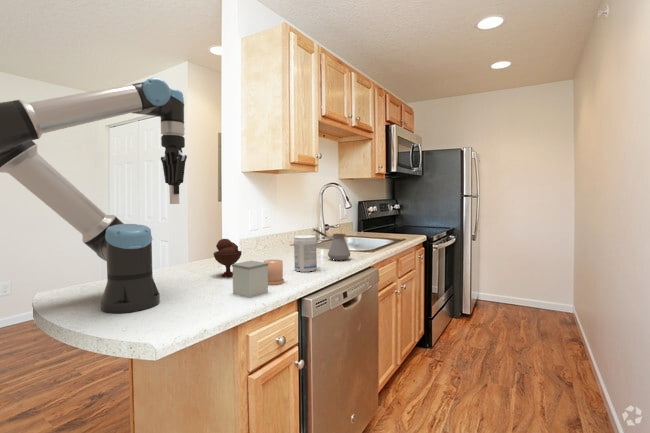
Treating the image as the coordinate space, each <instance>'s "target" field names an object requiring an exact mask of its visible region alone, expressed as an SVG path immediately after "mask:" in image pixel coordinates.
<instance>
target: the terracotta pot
mask: <svg viewBox="0 0 650 433" xmlns="http://www.w3.org/2000/svg"><path fill="white" fill-rule="evenodd" d="M263 262H264V263H268V286H280V285H282V284H284V283H285V279H284V273H283V272H284V271H283V270H284V268H283V267H284V266H283V265H284V264H283V263H284V262H283V260H281V259H266V260H263ZM279 284H280V285H279Z"/></svg>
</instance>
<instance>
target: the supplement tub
mask: <svg viewBox="0 0 650 433" xmlns="http://www.w3.org/2000/svg"><path fill="white" fill-rule="evenodd" d="M293 251H294V252H293V253H294V255H293V257H294V258H293V259H294V260H293V261H294V270H295V271H296V272H298V271H300V272H301V273H307V272H308V273H310V271H312V272H315V271H316V270H317V268H318V265H317V264H318V260H317V238H316V235H311V234H310V235H309V234H307V235H306V234H305V235H302V234H301V235H295V236H294V237H293Z"/></svg>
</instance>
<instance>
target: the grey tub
mask: <svg viewBox="0 0 650 433" xmlns="http://www.w3.org/2000/svg"><path fill="white" fill-rule="evenodd" d="M231 267H232V272H233V276H232V294H233V295H237V296H240V297H245V298H254V297H256V296H260V295H263V294H267V293H269V285H268V263H264V261H263V262H262V261H257V260H246V261H242V262H236V263H235V264H232V265H231Z"/></svg>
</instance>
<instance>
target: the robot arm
mask: <svg viewBox="0 0 650 433" xmlns="http://www.w3.org/2000/svg"><path fill="white" fill-rule="evenodd" d="M184 99H185V98H184V94H183V92H182V91H181V90H179V89H176V88H170V86H169V84H168V83H167V82H166V81H165V80H163V79H161V78H159V77H152V78H148V79H146V80H145V81H141V82H137V83H132V84H125V85H120V86H119V85H118V86H114V87H109V88H103V89H96V90H92V91H85V92H82V93H81V92H80V93H75V94H70V95H63V96H58V97H52V98H48V99H46V98H45V99H42V100H37V101H32V102H26V101H24V100H21V99H15V100H9V101H1V102H0V173H6V174H9V175H10V176H11V177H12V178H13V179H14V180H16V181H17V182H18V183H20V184H21V185H22V186H23V187H25V189H27V191H29V192H30V193H31V194H33V195H34V196H35V197H36V198H37V199H39V200H40V201H42V202H43V203H44V205H46V206H47V207H49V208H50V209H51V210H52V211H53V212H55V214H57V215H58V216H59V217H61V218H62V219H63V220H64V221H65V222H66V223H68V224H69V225H70V226H72V227H73V228H74V230H76V231H78V232H79V233H80V234H81V236H82V238H81V239H82V242H83V244H84V245H86V246H87V247H88V248H90V250H92V251H93V252H94V253H96V255H97V257H99V258H100V259H102V261H105V262H106V276H107V277H106V278H107V281H106V285H105V288H104V292H103V294H102V297H101V301H100V310H101V311H102V312H105V313H111V314H112V313H113V314H115V313H116V314H119V313H132V312H138V311H142V310H147V309H150V308H152V307H155V306H157V305H159V303H160V302H161V300H160V296H161V295H160V292H159V290H158V287H157V285H156V282H155V279H154V277H153V276H154V275H153V248H152V247H153V245H152V244H153V242H152V241H153V236H152V230H151V228H150V227H148V226H147V225H143V224H138V223H124V222H123V221H121V220H120V219H119V218H118V217H117V216H116V215H114V214H106V213H105V212H104V211H103V210H102V209H100V208H99V207H98V206H97V205H96V204H95V203H94V202H93V201H92V200H90V199H89V198H88V197H87V196H86V195H85V194H84V193H83V192H81V191H80V190H79V189H78V188H77V187H76V186H75V185H74V184H72V183H71V181H69V180H68V179H67V178H66V177H65V176H63V175H62V174H61V173H60V171H58V170H57V169H56V168H55V167H53V165H52V164H50V163H49V162H48V161H47V160H46V159H45V158H44V157H42V155H40V154H39V152H38V144H36V142H35V141H34V140H40V138H41V137H42V135H43V134H46V133H51V132H55V131H58V130H64V129H67V128H71V127H76V126H80V125H84V124H90V123H94V122H98V121H103V120H107V119H110V118H114V117H120V116H124V115H127V114H133V115H135V114H136V115H143V116H150V117H151V116H153V117H159V118H160V134H161V137H160V141H161V142H160V143H161V147H163V148H164V156H161V157H160V161H161V163H162V169H163V175H164V183H165V184H167V185H168V186H169V204H170V205H180V185H181V184H183V183H184V180H185V179H184V178H185V168H186V161H187V158H188V156H187V155H186V154H183V148H185V146H186V144H185V143H186V142H185V141H186V140H185V139H186V138H185V137H184V136H185V100H184Z"/></svg>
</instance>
